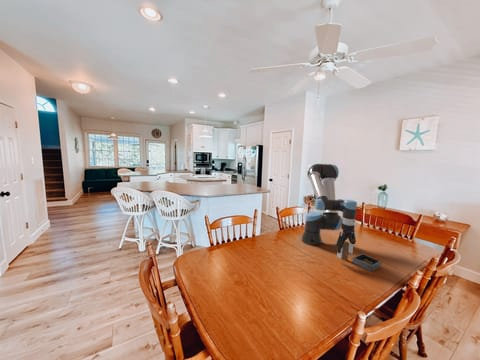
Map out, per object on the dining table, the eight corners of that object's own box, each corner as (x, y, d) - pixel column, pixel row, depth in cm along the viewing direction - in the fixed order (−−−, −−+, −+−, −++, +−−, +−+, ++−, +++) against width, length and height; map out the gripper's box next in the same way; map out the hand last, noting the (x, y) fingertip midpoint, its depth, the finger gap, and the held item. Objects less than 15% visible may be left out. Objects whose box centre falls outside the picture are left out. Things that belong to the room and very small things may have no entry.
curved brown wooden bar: (341, 258, 135) (343, 241, 134) (343, 258, 137) (344, 241, 135) (345, 260, 133) (347, 243, 132) (347, 260, 134) (349, 242, 133)
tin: (352, 262, 131) (352, 257, 130) (361, 258, 137) (362, 253, 136) (371, 271, 121) (372, 266, 120) (380, 266, 127) (381, 261, 127)
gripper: (343, 228, 122) (339, 262, 125) (363, 222, 135) (360, 253, 138) (331, 225, 128) (328, 256, 131) (352, 219, 142) (349, 248, 144)
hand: (344, 255), depth 134 cm, fingers open, 12 cm apart
